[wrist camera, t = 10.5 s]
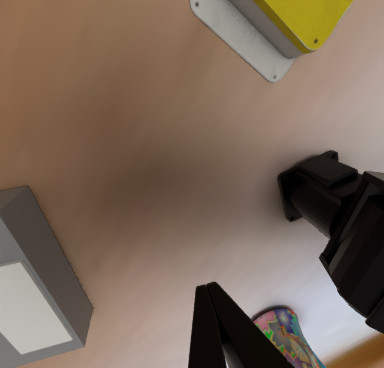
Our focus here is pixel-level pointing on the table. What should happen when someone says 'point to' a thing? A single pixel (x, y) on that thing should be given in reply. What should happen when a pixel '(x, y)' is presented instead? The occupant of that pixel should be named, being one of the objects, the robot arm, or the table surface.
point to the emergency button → (271, 28)
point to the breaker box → (36, 286)
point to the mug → (288, 337)
